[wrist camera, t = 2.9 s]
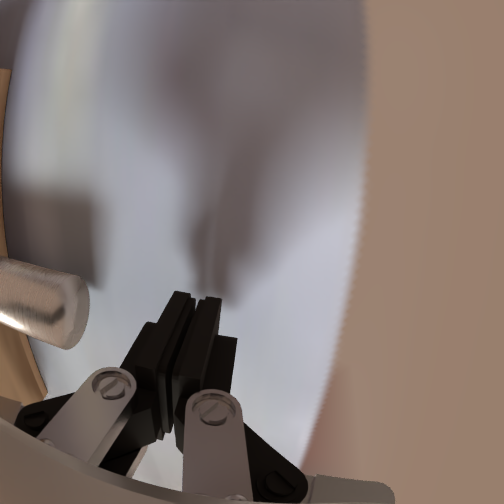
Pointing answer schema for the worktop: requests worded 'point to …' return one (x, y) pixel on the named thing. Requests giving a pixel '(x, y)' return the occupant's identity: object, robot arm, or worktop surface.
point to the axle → (43, 302)
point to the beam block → (8, 339)
